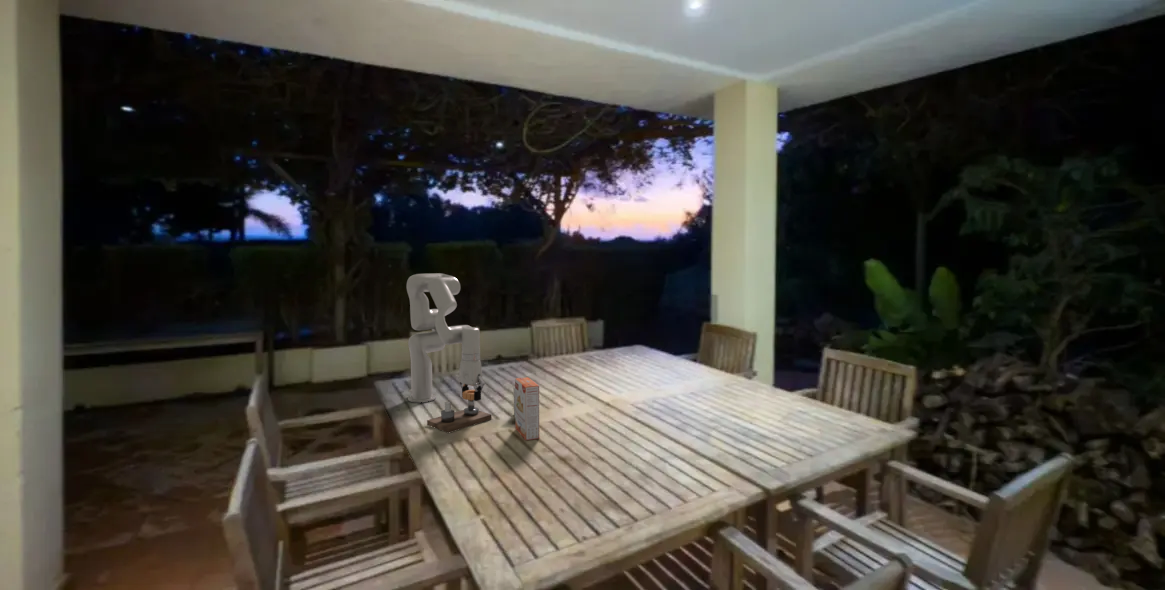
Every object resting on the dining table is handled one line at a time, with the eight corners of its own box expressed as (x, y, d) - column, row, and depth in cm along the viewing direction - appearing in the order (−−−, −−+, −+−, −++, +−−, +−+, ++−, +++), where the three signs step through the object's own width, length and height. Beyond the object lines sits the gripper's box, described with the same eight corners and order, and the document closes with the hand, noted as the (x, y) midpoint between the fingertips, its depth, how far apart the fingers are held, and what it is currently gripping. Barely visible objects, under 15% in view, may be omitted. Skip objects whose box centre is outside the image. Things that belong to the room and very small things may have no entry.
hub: (461, 414, 222) (460, 394, 222) (472, 410, 227) (472, 391, 226) (470, 417, 219) (470, 397, 218) (481, 413, 223) (481, 394, 223)
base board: (427, 425, 214) (427, 420, 214) (470, 412, 231) (470, 407, 231) (448, 432, 206) (448, 427, 205) (491, 419, 223) (491, 414, 222)
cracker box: (514, 429, 210) (514, 377, 209) (528, 427, 213) (528, 376, 211) (524, 441, 198) (524, 386, 196) (539, 439, 200) (540, 385, 198)
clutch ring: (459, 397, 222) (459, 392, 221) (472, 394, 227) (472, 388, 227) (470, 400, 217) (470, 395, 217) (483, 397, 223) (483, 391, 223)
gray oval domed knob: (438, 421, 213) (438, 402, 213) (449, 417, 217) (449, 399, 217) (446, 423, 210) (446, 405, 209) (457, 420, 214) (456, 402, 213)
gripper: (450, 355, 223) (451, 396, 225) (477, 361, 212) (478, 404, 214) (464, 353, 229) (465, 393, 231) (491, 358, 218) (492, 400, 220)
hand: (471, 398), depth 222 cm, fingers closed on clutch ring, 7 cm apart
